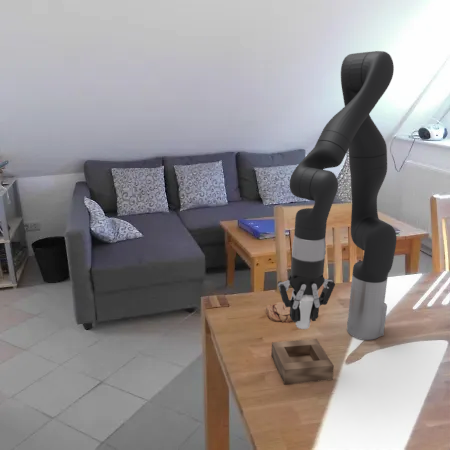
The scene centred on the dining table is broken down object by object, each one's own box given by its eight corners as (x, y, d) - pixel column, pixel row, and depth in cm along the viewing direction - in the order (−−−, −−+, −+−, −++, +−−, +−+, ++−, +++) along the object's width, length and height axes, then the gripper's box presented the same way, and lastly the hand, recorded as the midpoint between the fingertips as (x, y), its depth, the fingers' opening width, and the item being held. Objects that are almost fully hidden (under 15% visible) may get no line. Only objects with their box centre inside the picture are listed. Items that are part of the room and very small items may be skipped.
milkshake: (315, 332, 115) (318, 294, 112) (292, 329, 116) (295, 291, 113) (315, 323, 120) (319, 286, 116) (293, 320, 121) (296, 283, 117)
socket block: (315, 352, 128) (316, 338, 127) (332, 379, 117) (333, 365, 115) (271, 355, 126) (271, 342, 125) (284, 384, 115) (284, 369, 113)
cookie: (297, 326, 141) (297, 317, 140) (261, 320, 144) (262, 311, 143) (303, 311, 150) (303, 302, 149) (269, 305, 153) (269, 297, 152)
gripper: (331, 247, 117) (326, 311, 122) (274, 249, 114) (271, 314, 120) (344, 258, 110) (337, 326, 115) (282, 261, 107) (278, 330, 113)
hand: (303, 319), depth 117 cm, fingers closed on milkshake, 4 cm apart
